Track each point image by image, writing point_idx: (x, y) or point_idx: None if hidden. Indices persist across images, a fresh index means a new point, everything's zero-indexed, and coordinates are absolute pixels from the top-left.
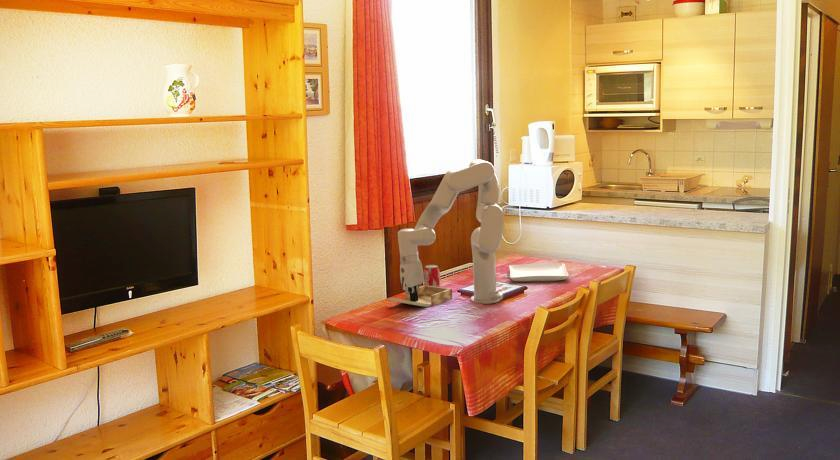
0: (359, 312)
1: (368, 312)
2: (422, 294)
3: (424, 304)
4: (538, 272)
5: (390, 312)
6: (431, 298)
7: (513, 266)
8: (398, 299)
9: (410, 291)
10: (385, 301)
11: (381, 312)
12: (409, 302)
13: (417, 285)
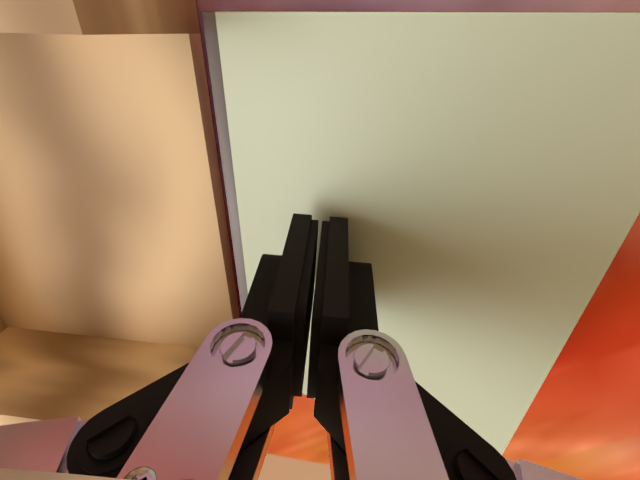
0: (629, 475)
1: (620, 438)
2: (34, 342)
3: (368, 12)
4: None
5: (590, 316)
6: (121, 17)
7: None
8: (534, 392)
9: (426, 399)
10: (302, 455)
11: (604, 373)
12: (638, 191)
13: (172, 458)
